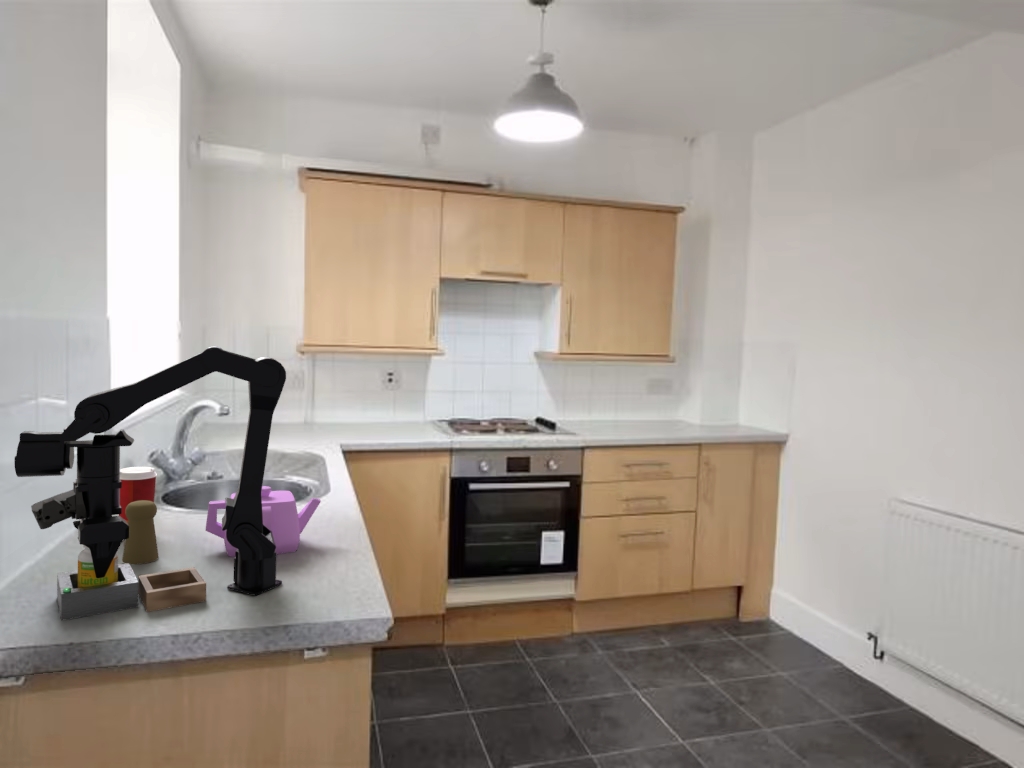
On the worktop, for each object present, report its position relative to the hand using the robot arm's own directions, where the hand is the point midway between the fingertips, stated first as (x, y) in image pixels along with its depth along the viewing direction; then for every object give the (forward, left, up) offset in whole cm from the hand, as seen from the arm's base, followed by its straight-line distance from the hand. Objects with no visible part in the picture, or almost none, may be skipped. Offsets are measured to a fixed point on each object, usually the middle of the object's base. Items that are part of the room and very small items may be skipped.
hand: (98, 571), depth 105 cm
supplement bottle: (0, 0, -4) cm, 4 cm away
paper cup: (+25, -26, -5) cm, 36 cm away
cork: (+12, -17, -5) cm, 21 cm away
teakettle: (-1, -35, -5) cm, 35 cm away
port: (0, 0, -5) cm, 5 cm away
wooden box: (-8, -7, -5) cm, 12 cm away
